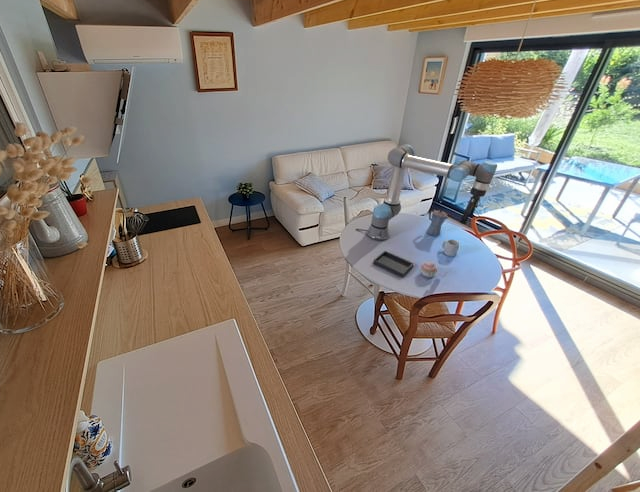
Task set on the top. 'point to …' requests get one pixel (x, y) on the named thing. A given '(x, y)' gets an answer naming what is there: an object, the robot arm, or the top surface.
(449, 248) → the cup
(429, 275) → the cupcake
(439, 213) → the moka pot
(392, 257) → the baking tray
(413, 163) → the robot arm
